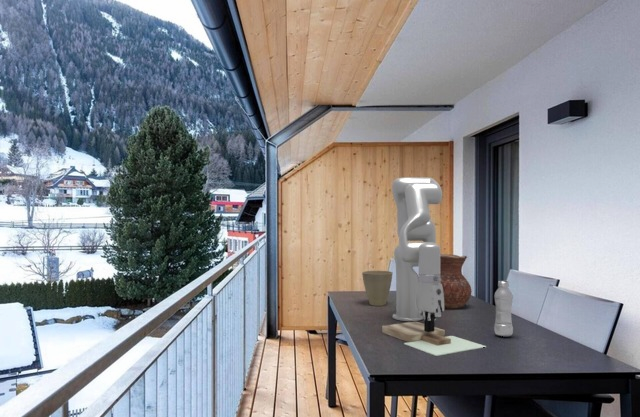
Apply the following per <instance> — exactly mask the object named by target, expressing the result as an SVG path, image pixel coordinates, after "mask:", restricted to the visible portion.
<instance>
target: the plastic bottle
mask: <svg viewBox="0 0 640 417" xmlns="http://www.w3.org/2000/svg"><path fill="white" fill-rule="evenodd" d="M497 286H498V288H497V289H496V291H495V292H494V296H493V297H494V304H495V322H494V326H493V331H494V333H495V335H496V336H499V337H502V336H503V338H504V337H511V336H512V335H513V332H514V327H513V322H512V308H513V307H512V306H513V299H514V296H513V293H512V291H511V289H509V287H510V282H509V281H508V280H498V283H497Z"/></svg>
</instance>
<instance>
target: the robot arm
mask: <svg viewBox="0 0 640 417" xmlns="http://www.w3.org/2000/svg"><path fill="white" fill-rule="evenodd" d="M391 186H392V188H391V191H392V196H393V197H392V198H393V200H394V202H395V205H396V210H397V212H396V213H397V214H396V220H397V221H396V222H397V224H396V225H397V226H396V227H397V229H396V230H397V231H396V232H397V236H398V245H397V246H396V247H395V248H394V250H393V255H394V264H395V278H396V279H395V280H396V284H395V285H396V286H395V289H396V290H395V292H396V293H395V296H396V297H395V299H396V302H395V306H396V307H395V308H396V309H395V313H393V314H392V319H393V320H395V321H396V320H397V321H400V322H402V321H403V322H419V321H423V320H424V321H423V322H424V323H423V324H424V331H426V332H434V327H435V321H436V320H437V319H436V318H440V317H442V313H443V312H444V311H445V308H444V293H443V287H442V284H440V281H441V278H440V254H441V246H440V245H439V244H437V242H436V240H437V238H436V234H437V233H436V225H435V222H434V221H433V220H432V219H431V211H430V205H439V204H440V203H441V202H442V200H443V190H442V188H441V185H440V184H439V183H438V182H437V181H436V180H435V179H434V178H432V177H427V176H426V177H424V176H423V177H413V176H412V177H411V176H409V177H408V176H407V177H398V178H395V179H394V180H393V181H392V185H391ZM414 267H418V273H417V271H415V269H414Z"/></svg>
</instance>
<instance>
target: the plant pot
mask: <svg viewBox="0 0 640 417" xmlns="http://www.w3.org/2000/svg"><path fill="white" fill-rule="evenodd" d="M361 274H362V275H361V276H362V281H363V287H364V290H365V294H366V297H367V301H368V302H369V305H370V306H373V307H384V306H386V305H387V304H386V303H387V300H388V297H389V295H390V294H389V293H390V290H391V286H392V279H393V271H390V270H388V271H387V270H366V271H365V270H364V271H362V272H361Z"/></svg>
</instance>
